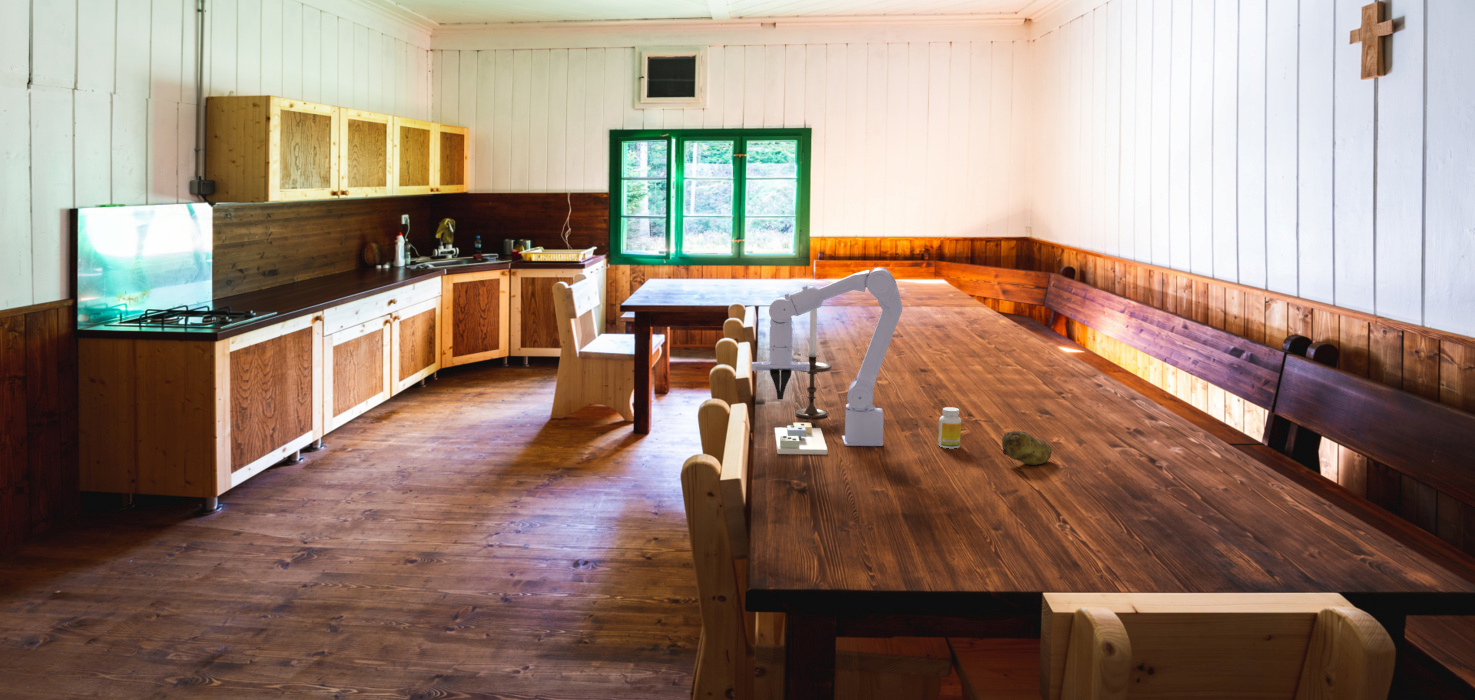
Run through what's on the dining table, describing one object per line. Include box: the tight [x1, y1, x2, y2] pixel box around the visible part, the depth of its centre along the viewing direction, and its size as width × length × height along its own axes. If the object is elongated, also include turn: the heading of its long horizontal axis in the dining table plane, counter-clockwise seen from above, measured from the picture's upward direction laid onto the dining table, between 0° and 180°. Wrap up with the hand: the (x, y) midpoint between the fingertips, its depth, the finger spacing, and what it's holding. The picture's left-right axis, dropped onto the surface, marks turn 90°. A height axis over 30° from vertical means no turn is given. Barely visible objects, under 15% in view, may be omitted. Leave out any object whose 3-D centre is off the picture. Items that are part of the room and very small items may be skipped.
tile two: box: [786, 424, 806, 437], centre depth 223 cm, size 4×4×2 cm
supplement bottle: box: [937, 406, 962, 450], centre depth 221 cm, size 5×5×10 cm
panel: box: [774, 427, 828, 455], centre depth 224 cm, size 12×20×2 cm, turn 0°
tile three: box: [780, 436, 799, 448], centre depth 216 cm, size 4×4×2 cm
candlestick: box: [794, 308, 833, 420], centre depth 249 cm, size 11×11×35 cm
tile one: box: [792, 422, 813, 434], centre depth 229 cm, size 4×4×2 cm
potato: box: [1001, 430, 1053, 466], centre depth 207 cm, size 8×13×8 cm, turn 95°
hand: (780, 398), depth 226 cm, fingers closed
